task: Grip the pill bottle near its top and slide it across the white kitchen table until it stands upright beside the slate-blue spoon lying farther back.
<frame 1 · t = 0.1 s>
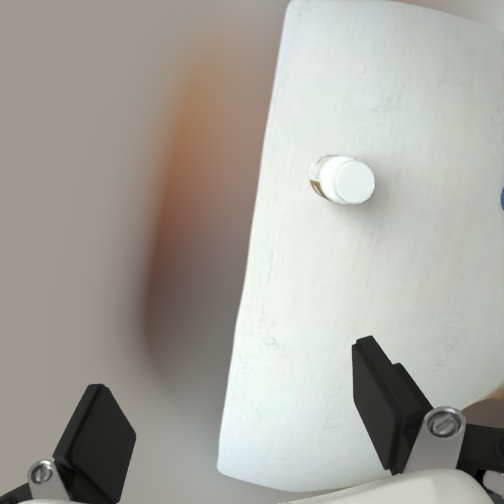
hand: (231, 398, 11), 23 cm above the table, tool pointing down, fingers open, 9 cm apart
pill bottle: (328, 176, 31), on the table
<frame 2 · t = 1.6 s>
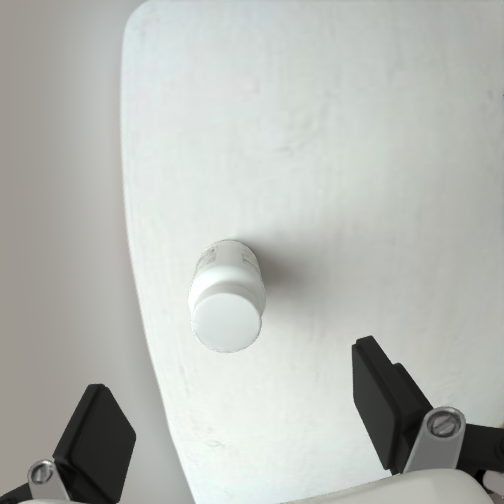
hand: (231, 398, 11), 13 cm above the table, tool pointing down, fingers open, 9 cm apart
pill bottle: (227, 268, 23), on the table
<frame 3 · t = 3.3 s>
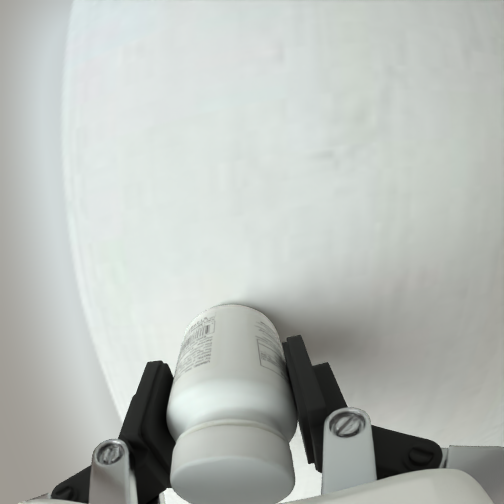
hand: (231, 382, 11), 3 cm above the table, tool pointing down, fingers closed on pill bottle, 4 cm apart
pill bottle: (231, 341, 14), on the table, touching gripper
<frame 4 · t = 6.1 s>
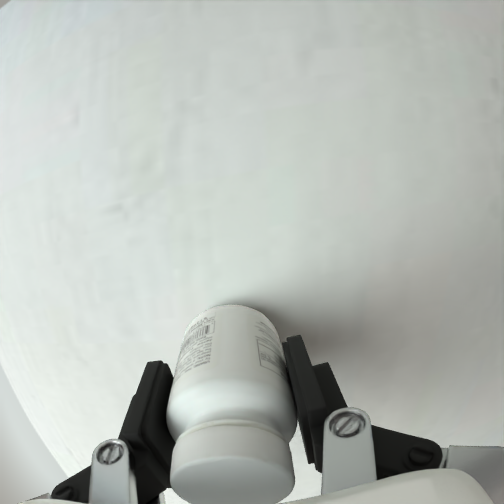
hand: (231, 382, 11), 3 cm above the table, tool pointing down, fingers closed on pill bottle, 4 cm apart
pill bottle: (231, 342, 14), on the table, touching gripper
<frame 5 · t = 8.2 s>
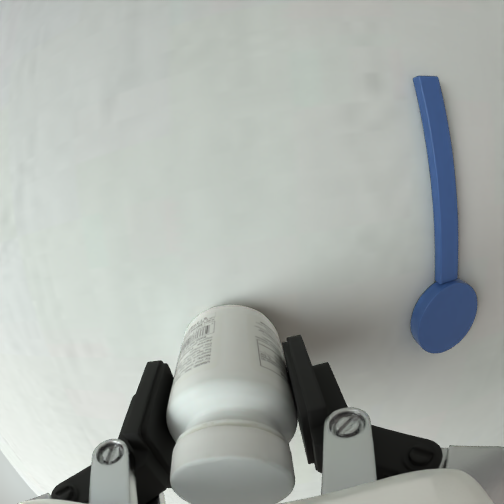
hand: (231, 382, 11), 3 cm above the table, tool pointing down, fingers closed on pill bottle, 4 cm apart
spoon: (443, 231, 13), on the table
pill bottle: (231, 342, 14), on the table, touching gripper
when the fingers open (3 cm above the table, at t = 9.3 s): pill bottle stays where it is, on the table.
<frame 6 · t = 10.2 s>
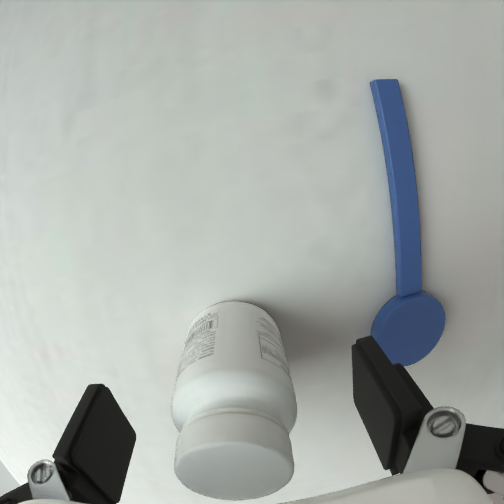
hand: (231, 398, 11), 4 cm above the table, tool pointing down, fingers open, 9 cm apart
spoon: (404, 242, 14), on the table
pill bottle: (234, 338, 15), on the table
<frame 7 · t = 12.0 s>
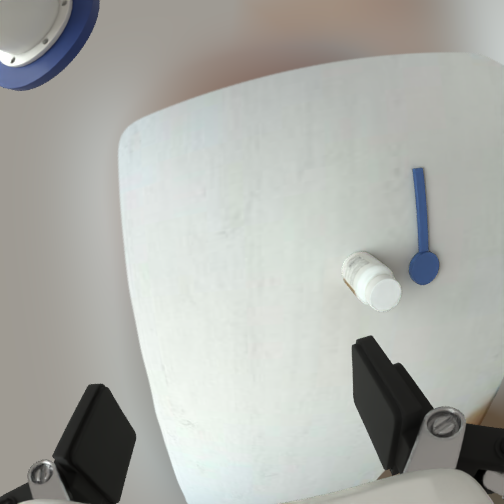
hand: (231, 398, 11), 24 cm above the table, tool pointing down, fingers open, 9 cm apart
spoon: (421, 230, 34), on the table
pill bottle: (358, 268, 35), on the table
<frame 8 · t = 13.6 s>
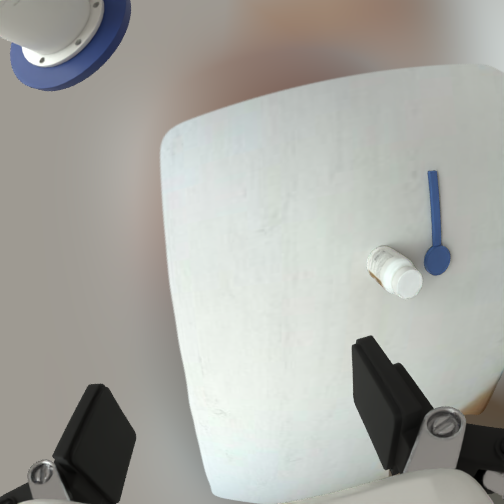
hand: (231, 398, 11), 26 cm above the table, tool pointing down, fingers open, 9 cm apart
spoon: (435, 226, 37), on the table
pill bottle: (380, 261, 38), on the table
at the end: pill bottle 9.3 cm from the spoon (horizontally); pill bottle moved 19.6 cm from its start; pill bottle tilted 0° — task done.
